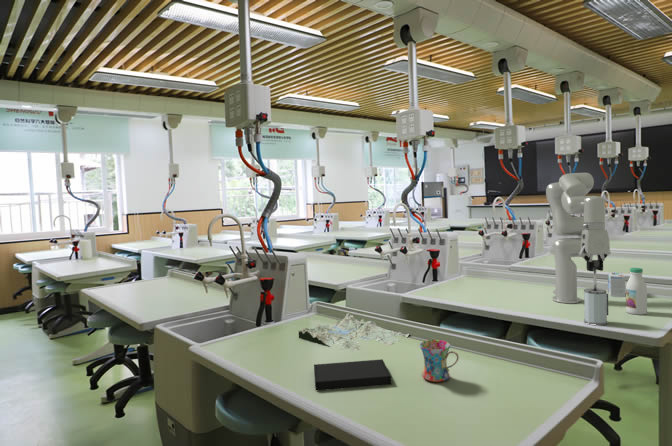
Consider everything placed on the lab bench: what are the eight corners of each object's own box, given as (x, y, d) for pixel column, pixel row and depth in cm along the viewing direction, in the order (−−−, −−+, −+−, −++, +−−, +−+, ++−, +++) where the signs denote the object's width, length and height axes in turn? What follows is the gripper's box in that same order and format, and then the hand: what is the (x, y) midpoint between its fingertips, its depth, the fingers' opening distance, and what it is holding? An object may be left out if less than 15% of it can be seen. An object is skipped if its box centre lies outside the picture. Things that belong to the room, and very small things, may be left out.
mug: (416, 380, 135) (414, 347, 134) (427, 370, 143) (426, 338, 142) (454, 388, 128) (453, 353, 128) (463, 376, 136) (462, 343, 135)
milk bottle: (643, 310, 196) (643, 266, 195) (649, 315, 189) (649, 269, 188) (623, 310, 199) (623, 266, 198) (629, 314, 192) (628, 269, 191)
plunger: (584, 295, 185) (583, 260, 184) (596, 294, 185) (596, 259, 185) (593, 298, 179) (593, 261, 178) (606, 297, 180) (605, 261, 179)
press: (579, 320, 187) (579, 288, 186) (599, 318, 188) (599, 287, 187) (593, 326, 178) (593, 293, 178) (614, 324, 180) (614, 291, 179)
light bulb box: (607, 292, 234) (607, 272, 234) (622, 292, 231) (622, 272, 231) (610, 296, 225) (610, 275, 224) (625, 297, 222) (625, 276, 221)
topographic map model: (410, 337, 177) (410, 325, 177) (363, 359, 157) (362, 345, 156) (347, 322, 203) (346, 312, 202) (298, 339, 182) (298, 327, 182)
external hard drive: (391, 385, 133) (391, 376, 133) (315, 391, 131) (315, 382, 131) (382, 367, 147) (382, 359, 147) (314, 373, 145) (313, 364, 145)
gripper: (582, 228, 176) (582, 273, 177) (619, 226, 178) (620, 270, 179) (569, 227, 183) (570, 270, 184) (606, 225, 185) (606, 267, 186)
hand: (594, 270), depth 182 cm, fingers closed on plunger, 3 cm apart
